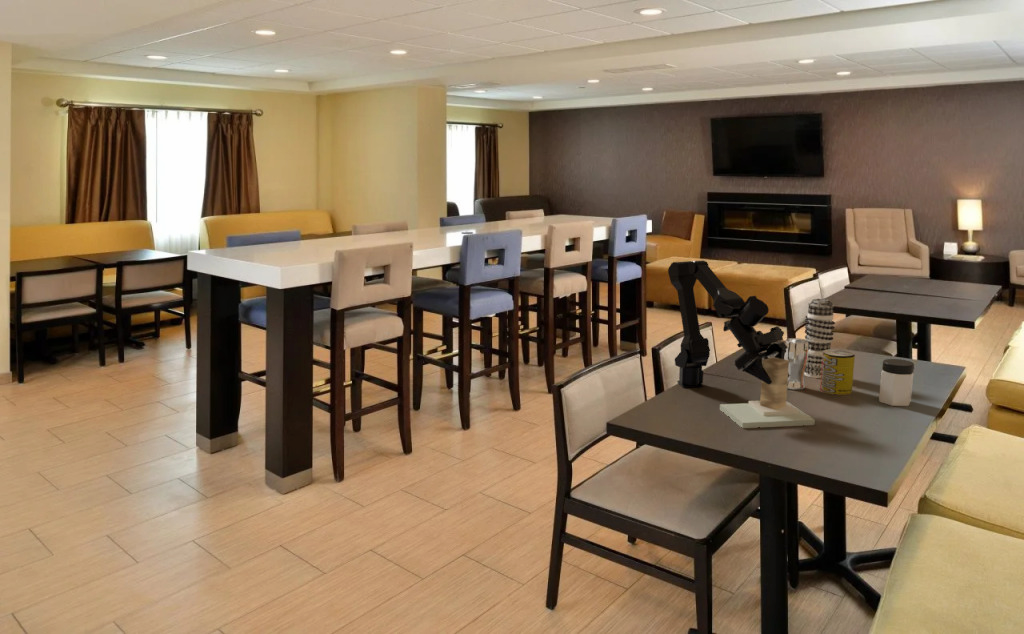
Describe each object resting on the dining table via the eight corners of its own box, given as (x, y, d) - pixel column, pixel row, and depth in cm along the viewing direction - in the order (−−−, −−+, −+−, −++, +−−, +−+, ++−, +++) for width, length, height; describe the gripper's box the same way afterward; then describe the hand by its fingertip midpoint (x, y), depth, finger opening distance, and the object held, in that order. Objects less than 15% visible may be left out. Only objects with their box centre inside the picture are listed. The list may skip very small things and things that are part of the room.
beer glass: (807, 391, 236) (811, 343, 233) (783, 390, 238) (786, 342, 235) (803, 384, 243) (807, 338, 240) (780, 383, 244) (783, 337, 241)
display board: (742, 428, 204) (742, 419, 203) (719, 409, 219) (720, 401, 219) (814, 425, 206) (815, 416, 206) (786, 406, 222) (787, 398, 221)
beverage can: (823, 385, 243) (826, 347, 241) (854, 389, 238) (857, 351, 236) (816, 391, 236) (819, 353, 233) (848, 396, 231) (851, 357, 228)
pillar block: (760, 405, 215) (762, 360, 212) (769, 401, 218) (772, 357, 216) (776, 409, 211) (779, 363, 209) (785, 405, 214) (788, 360, 212)
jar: (918, 404, 223) (922, 364, 221) (898, 408, 220) (902, 367, 217) (891, 396, 231) (894, 357, 229) (871, 399, 228) (875, 360, 225)
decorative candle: (795, 373, 256) (800, 299, 251) (813, 369, 261) (819, 296, 256) (818, 379, 248) (823, 303, 244) (837, 375, 253) (842, 300, 248)
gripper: (746, 322, 207) (782, 370, 201) (783, 313, 219) (817, 358, 213) (720, 346, 214) (753, 393, 208) (756, 336, 226) (789, 380, 220)
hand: (779, 380), depth 212 cm, fingers open, 9 cm apart
